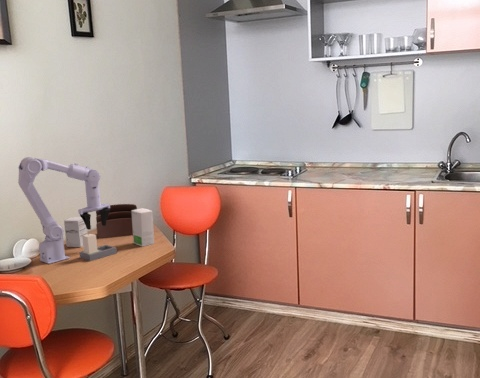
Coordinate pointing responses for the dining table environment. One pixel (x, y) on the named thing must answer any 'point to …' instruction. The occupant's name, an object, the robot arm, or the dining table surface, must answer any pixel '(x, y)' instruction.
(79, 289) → the dining table surface
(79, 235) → the supplement box
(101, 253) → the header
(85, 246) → the plug
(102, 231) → the letter holder
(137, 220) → the skincare box
